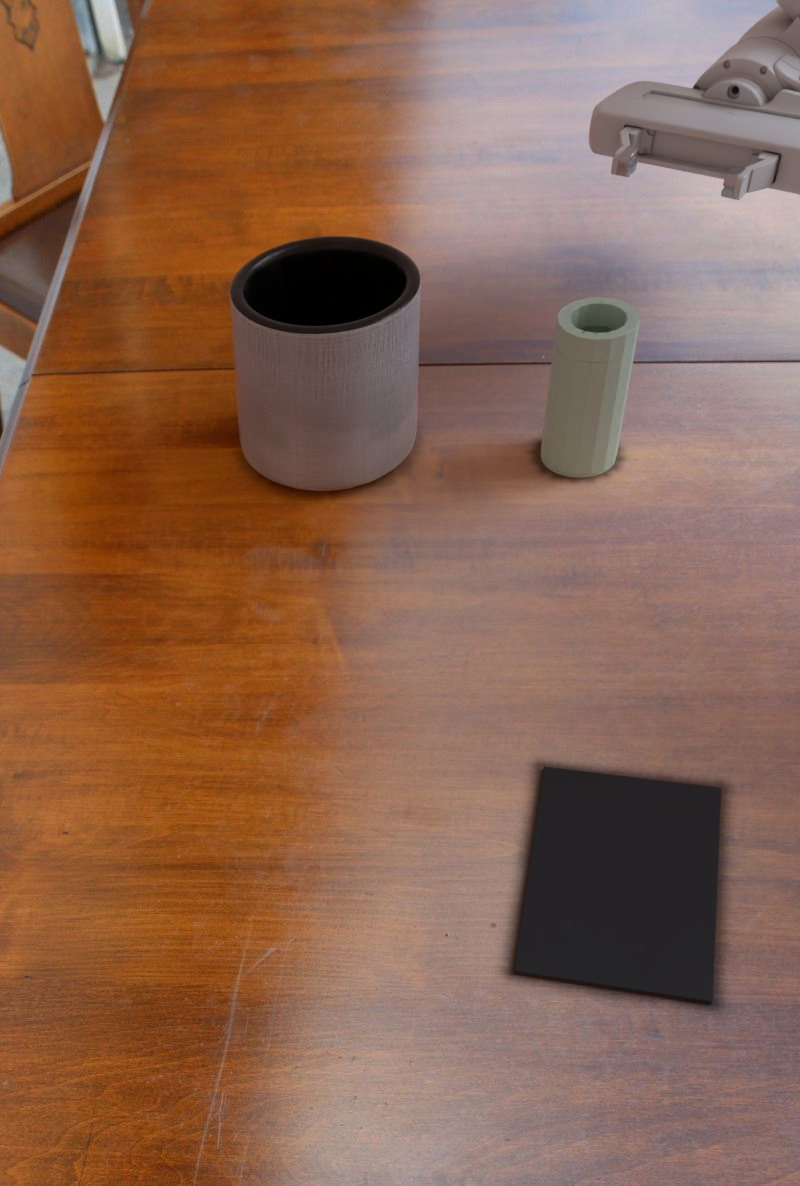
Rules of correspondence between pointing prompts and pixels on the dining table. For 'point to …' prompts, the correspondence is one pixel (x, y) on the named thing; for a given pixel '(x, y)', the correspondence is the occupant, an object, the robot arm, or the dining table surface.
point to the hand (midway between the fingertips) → (674, 177)
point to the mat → (623, 885)
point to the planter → (327, 361)
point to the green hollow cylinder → (588, 385)
